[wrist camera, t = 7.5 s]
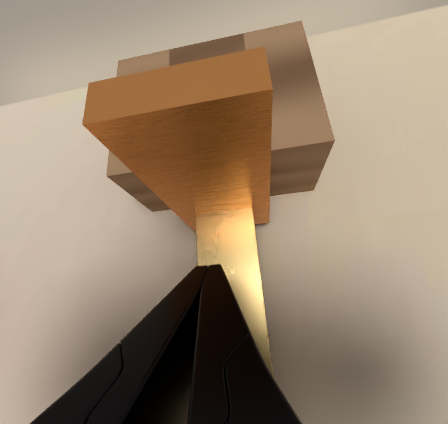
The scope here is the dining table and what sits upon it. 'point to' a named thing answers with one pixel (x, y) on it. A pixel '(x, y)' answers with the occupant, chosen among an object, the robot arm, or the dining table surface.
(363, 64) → the dining table surface
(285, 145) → the socket
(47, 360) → the dining table surface
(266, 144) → the wooden stamp paddle
